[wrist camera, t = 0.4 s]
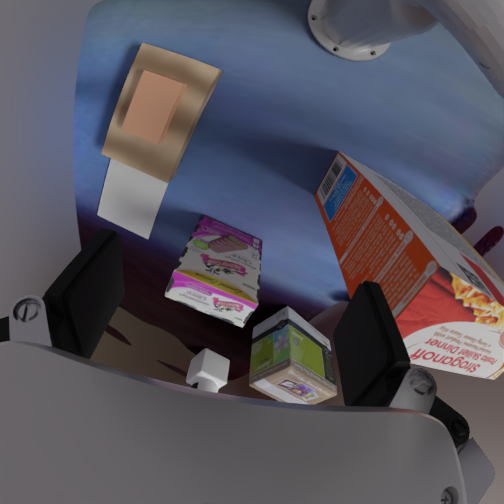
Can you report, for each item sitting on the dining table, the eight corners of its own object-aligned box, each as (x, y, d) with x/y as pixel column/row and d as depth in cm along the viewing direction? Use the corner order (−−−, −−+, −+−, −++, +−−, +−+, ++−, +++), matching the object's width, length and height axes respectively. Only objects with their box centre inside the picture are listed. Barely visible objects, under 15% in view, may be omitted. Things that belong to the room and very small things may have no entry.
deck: (151, 45, 32) (142, 42, 29) (223, 70, 35) (219, 69, 32) (111, 148, 41) (101, 154, 38) (174, 176, 43) (167, 183, 41)
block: (149, 70, 32) (144, 69, 30) (187, 83, 33) (183, 83, 31) (127, 127, 36) (121, 129, 34) (162, 142, 37) (157, 144, 36)
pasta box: (314, 195, 44) (365, 351, 19) (338, 151, 40) (440, 266, 15) (417, 249, 48) (494, 379, 22) (440, 214, 44) (539, 333, 18)
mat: (112, 155, 42) (111, 155, 41) (169, 180, 44) (169, 180, 44) (97, 214, 48) (97, 215, 47) (148, 238, 50) (148, 239, 50)
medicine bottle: (214, 371, 70) (207, 410, 59) (190, 359, 68) (181, 399, 57) (230, 359, 66) (225, 401, 56) (205, 346, 64) (196, 389, 54)
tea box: (251, 327, 60) (246, 386, 47) (288, 303, 56) (291, 364, 43) (295, 358, 65) (298, 412, 53) (330, 339, 61) (339, 395, 49)
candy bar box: (263, 238, 49) (260, 305, 35) (251, 260, 51) (243, 330, 37) (201, 211, 47) (173, 269, 33) (191, 235, 49) (162, 298, 35)
